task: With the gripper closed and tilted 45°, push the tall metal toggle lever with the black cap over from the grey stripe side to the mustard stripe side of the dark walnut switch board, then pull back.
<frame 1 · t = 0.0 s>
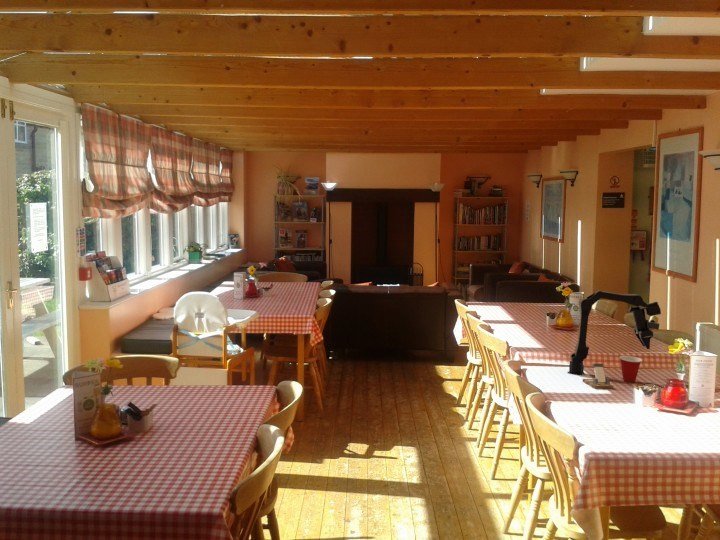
hand: (646, 347, 371), 15 cm above the table, tool pointing down, fingers open, 9 cm apart
switch base: (601, 387, 345), on the table
plastic cup: (629, 381, 361), on the table
switch lever: (599, 373, 348), point 6 cm above the table, hinge at -35.0°
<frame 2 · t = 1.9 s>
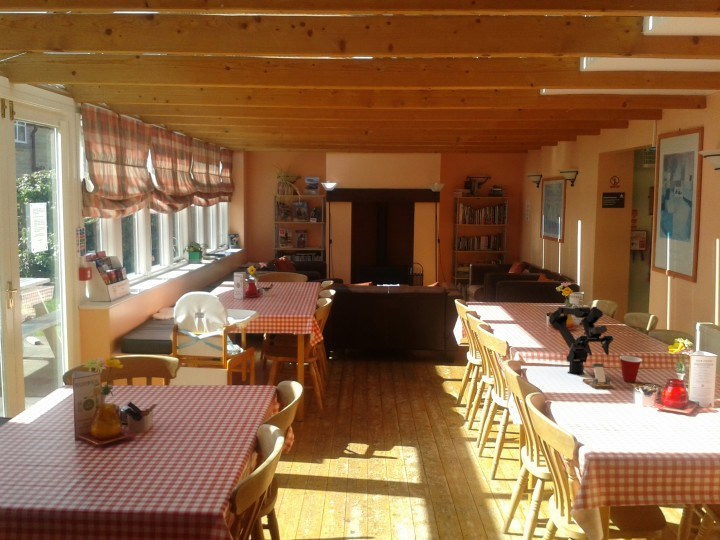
hand: (599, 355, 357), 14 cm above the table, tool tilted 40°, fingers open, 9 cm apart
nothing on the table moved.
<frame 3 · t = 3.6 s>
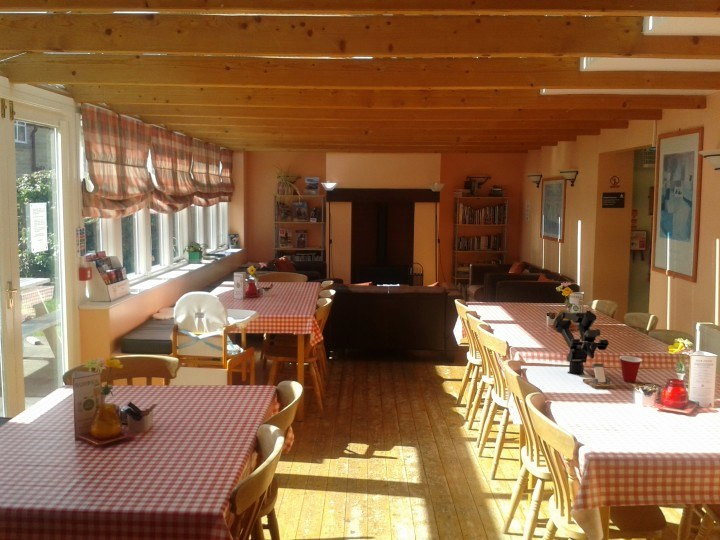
hand: (592, 358, 357), 12 cm above the table, tool tilted 45°, fingers closed
nothing on the table moved.
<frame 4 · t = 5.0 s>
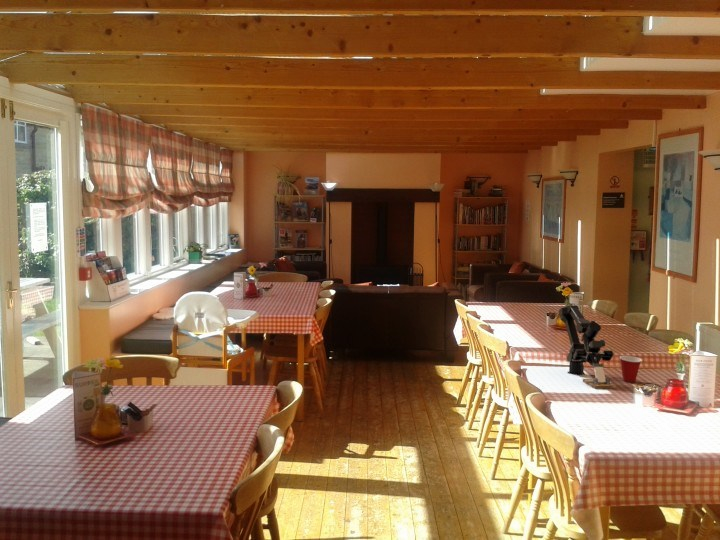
hand: (597, 369, 351), 7 cm above the table, tool tilted 45°, fingers closed, pressing on switch lever
switch lever: (599, 373, 348), point 6 cm above the table, hinge at -34.5°, touching gripper
everything else where it was.
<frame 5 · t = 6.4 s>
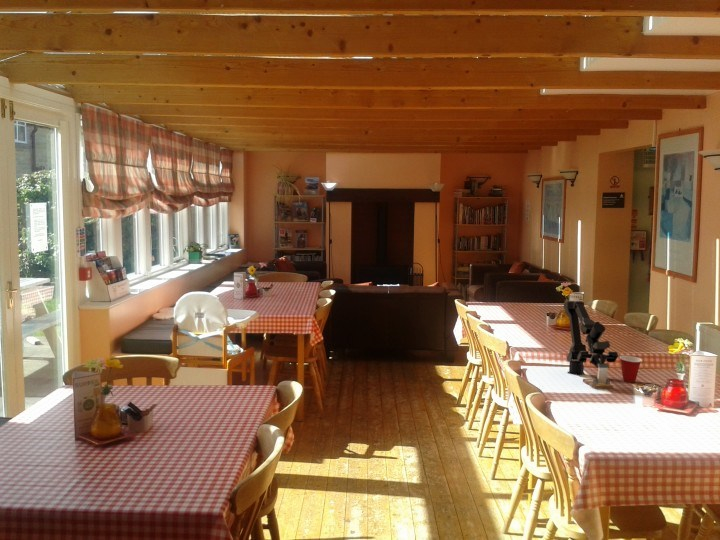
hand: (601, 371, 345), 8 cm above the table, tool tilted 45°, fingers closed, pressing on switch lever
switch lever: (602, 373, 344), point 7 cm above the table, hinge at 8.9°, touching gripper
everything else where it was.
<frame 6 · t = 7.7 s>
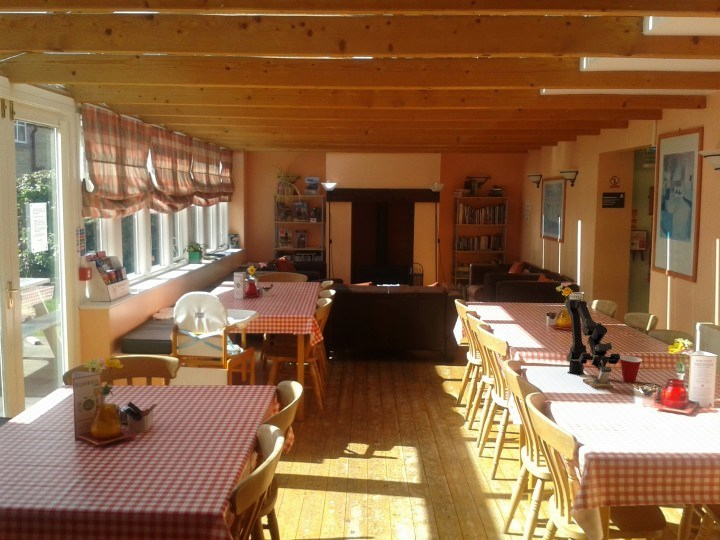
hand: (603, 373, 343), 7 cm above the table, tool tilted 45°, fingers closed, pressing on switch lever
switch lever: (603, 375, 343), point 6 cm above the table, hinge at 31.5°, touching gripper
everything else where it was.
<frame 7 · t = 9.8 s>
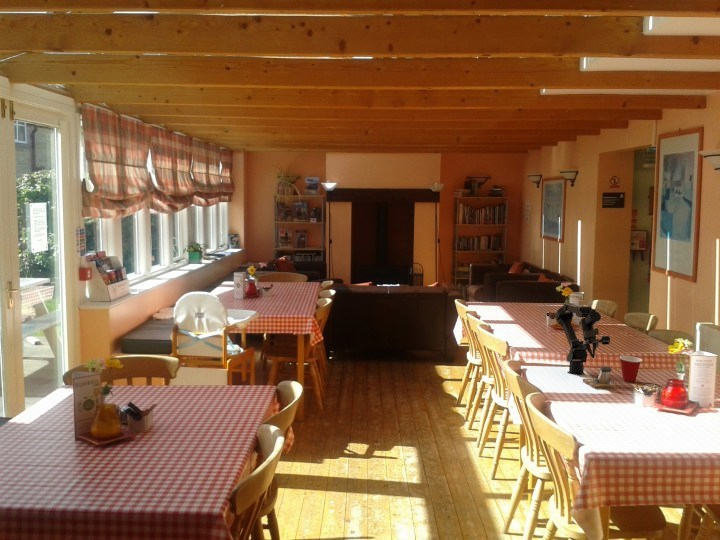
hand: (593, 358, 358), 12 cm above the table, tool tilted 30°, fingers closed
switch lever: (603, 375, 343), point 6 cm above the table, hinge at 31.6°
everything else where it was.
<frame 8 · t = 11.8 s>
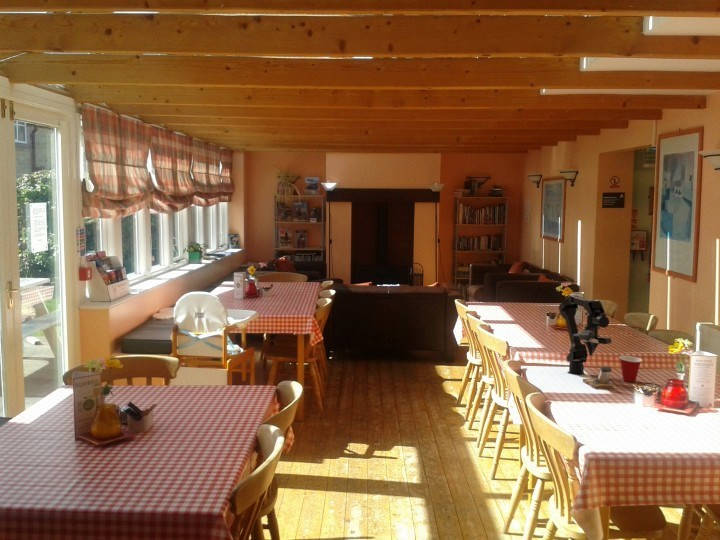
hand: (591, 355, 364), 12 cm above the table, tool pointing down, fingers closed
nothing on the table moved.
at the end: switch lever at +32° (first picture: -35°); plastic cup moved 0.2 cm from its start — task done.
